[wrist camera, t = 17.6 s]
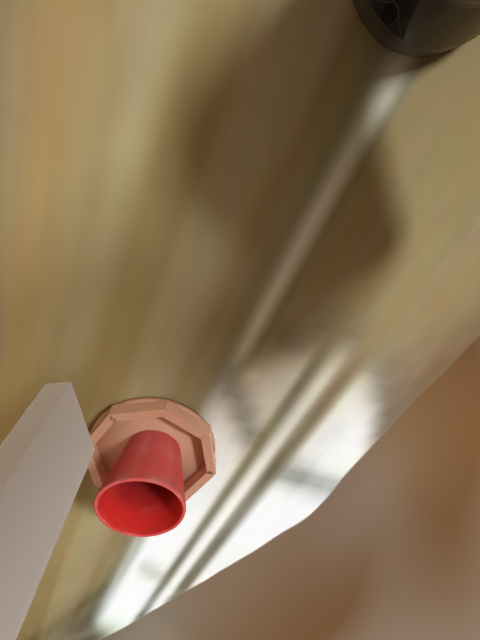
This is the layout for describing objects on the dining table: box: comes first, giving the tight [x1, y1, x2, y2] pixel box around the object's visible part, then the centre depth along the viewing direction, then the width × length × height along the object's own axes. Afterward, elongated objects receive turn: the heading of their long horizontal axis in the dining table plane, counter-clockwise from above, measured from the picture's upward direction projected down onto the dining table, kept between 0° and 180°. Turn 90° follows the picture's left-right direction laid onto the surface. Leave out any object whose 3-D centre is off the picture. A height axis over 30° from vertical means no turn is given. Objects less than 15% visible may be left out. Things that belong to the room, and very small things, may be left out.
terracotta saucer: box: [88, 397, 216, 501], centre depth 53 cm, size 18×18×3 cm
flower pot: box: [94, 430, 186, 537], centre depth 49 cm, size 11×11×10 cm
